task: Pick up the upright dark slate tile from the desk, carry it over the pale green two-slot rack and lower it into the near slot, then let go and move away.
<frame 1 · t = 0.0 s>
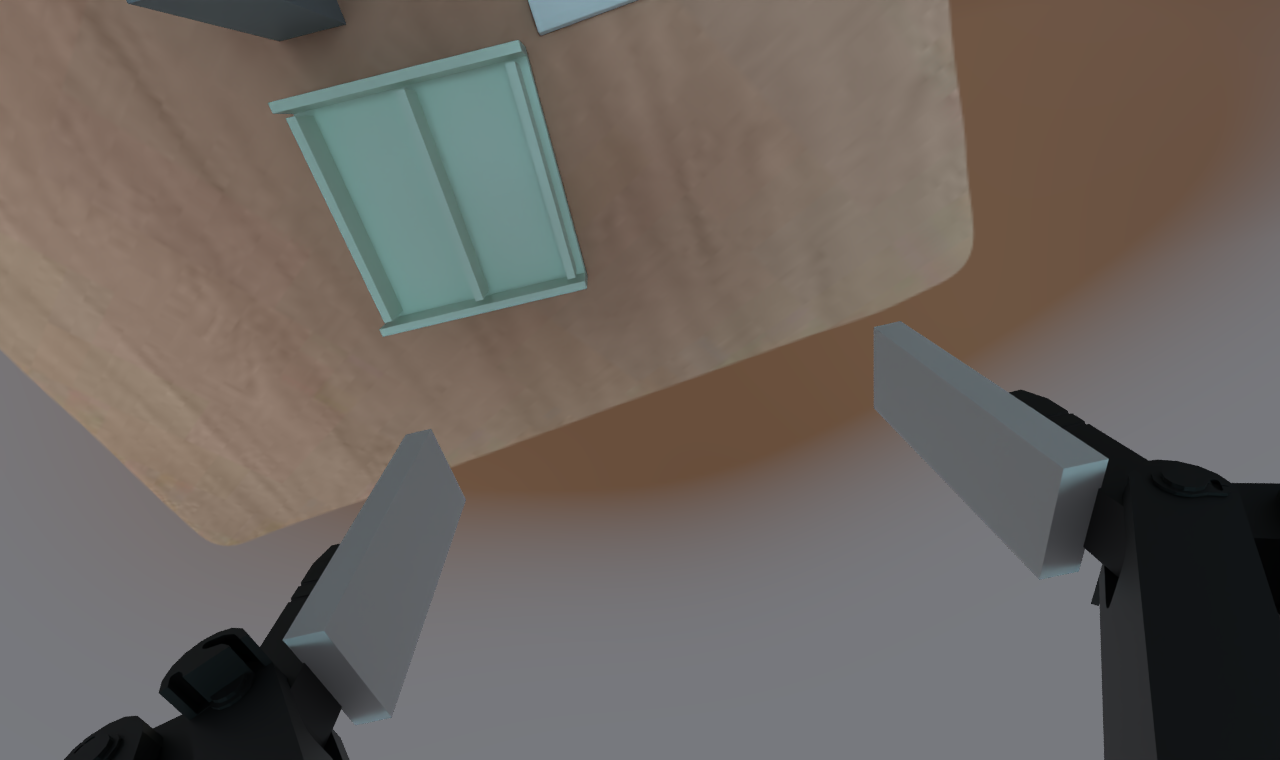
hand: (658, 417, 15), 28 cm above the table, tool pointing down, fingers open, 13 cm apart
rack: (455, 198, 38), on the table
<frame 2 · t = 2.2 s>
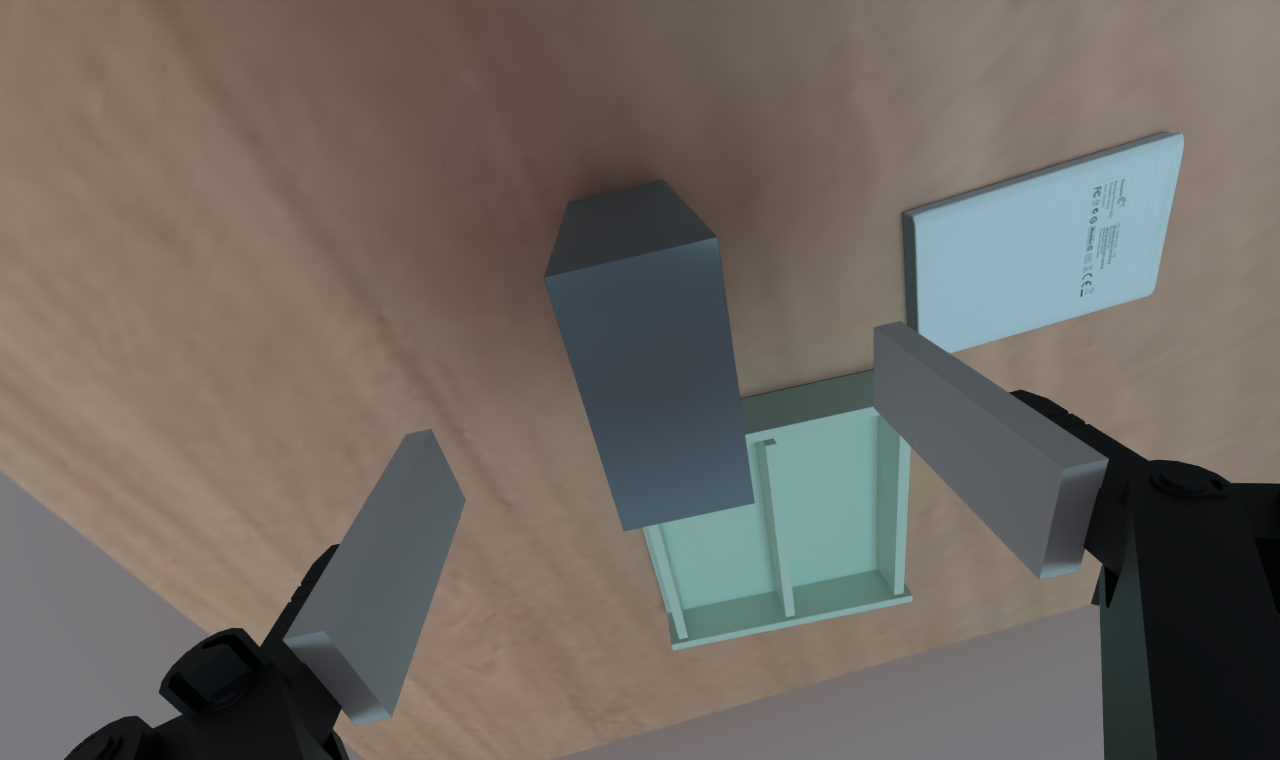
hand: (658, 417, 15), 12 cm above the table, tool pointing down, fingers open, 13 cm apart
rack: (765, 501, 33), on the table
tile: (636, 283, 26), on the table
external hard drive: (1016, 250, 27), on the table
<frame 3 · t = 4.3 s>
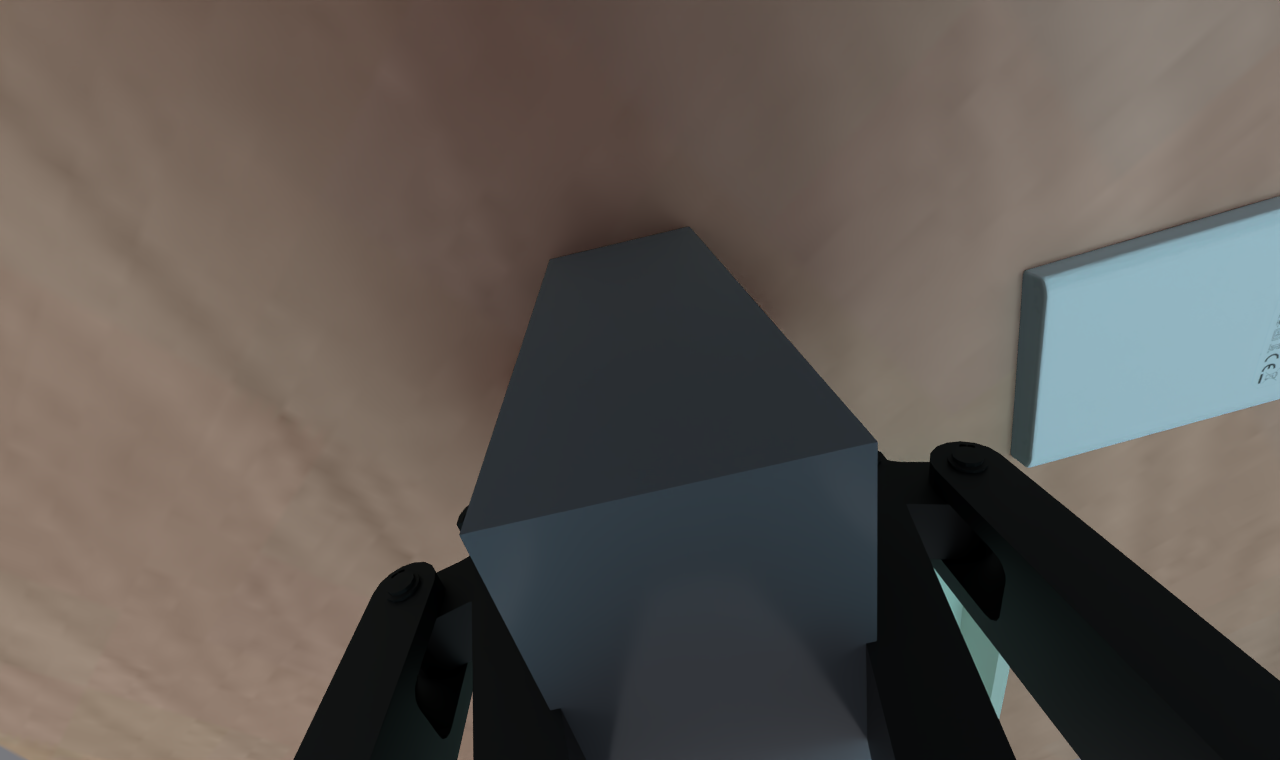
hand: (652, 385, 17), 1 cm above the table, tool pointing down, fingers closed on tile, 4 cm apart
rack: (812, 627, 25), on the table
tile: (648, 368, 18), on the table, touching gripper
external hard drive: (1165, 319, 20), on the table
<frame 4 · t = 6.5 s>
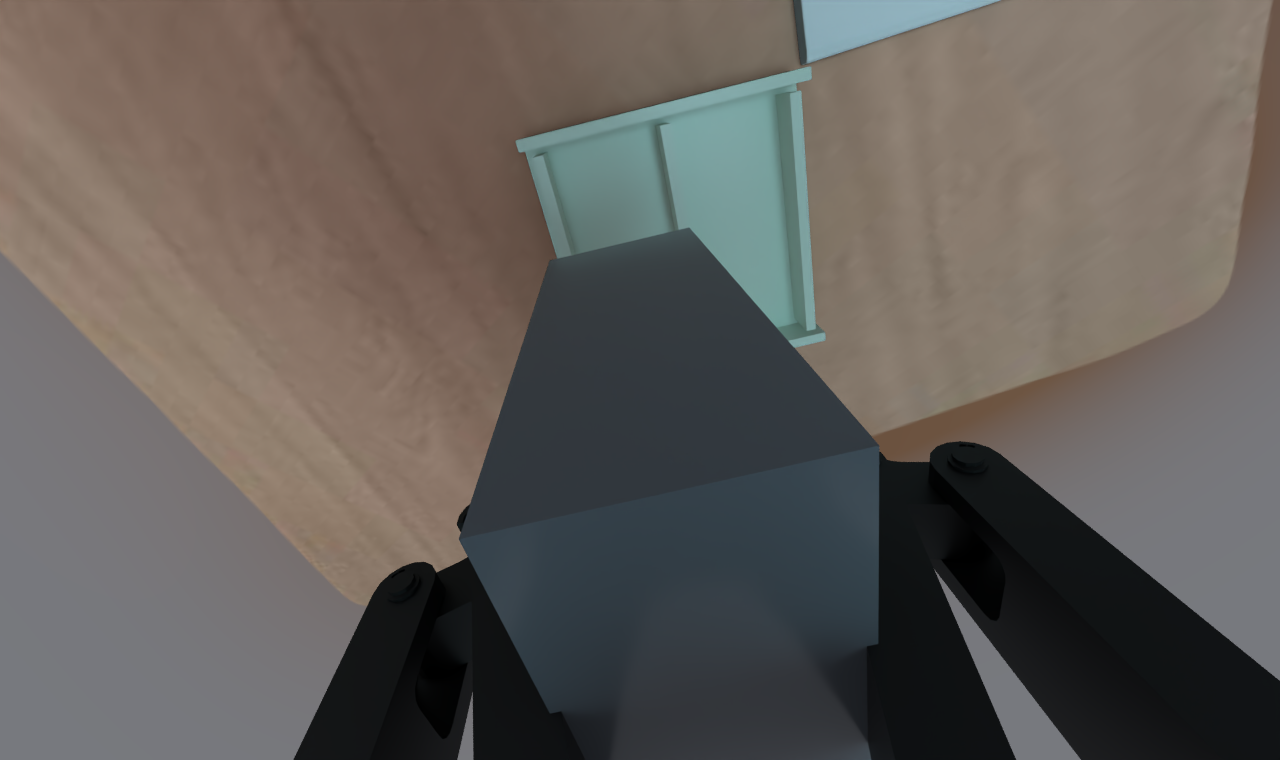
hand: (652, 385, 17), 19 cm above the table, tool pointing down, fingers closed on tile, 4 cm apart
rack: (679, 239, 34), on the table
tile: (648, 369, 18), point 18 cm above the table, touching gripper
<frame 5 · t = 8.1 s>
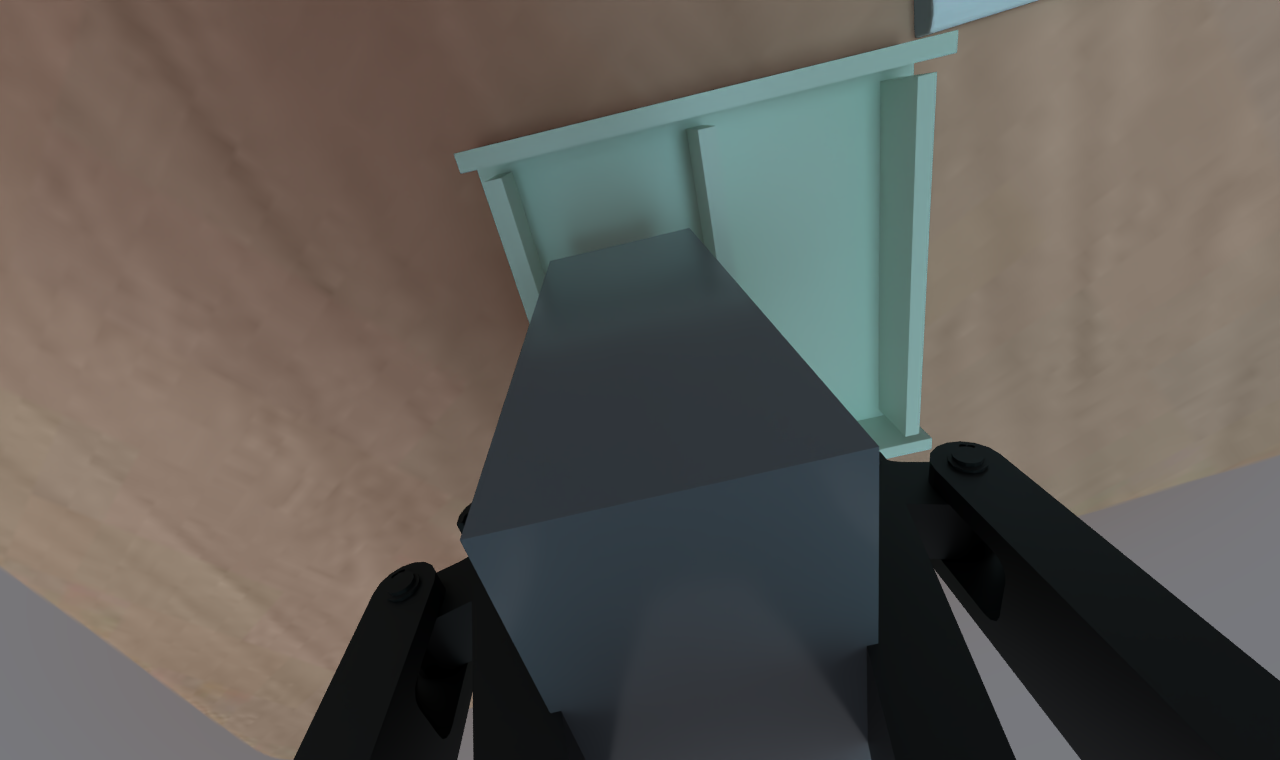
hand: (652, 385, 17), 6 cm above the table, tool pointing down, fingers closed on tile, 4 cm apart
rack: (716, 299, 22), on the table
tile: (648, 369, 18), point 5 cm above the table, touching gripper
when the fingers open (4 cm above the table, at t = 9.2 s): tile drops 2 cm, resting on rack.
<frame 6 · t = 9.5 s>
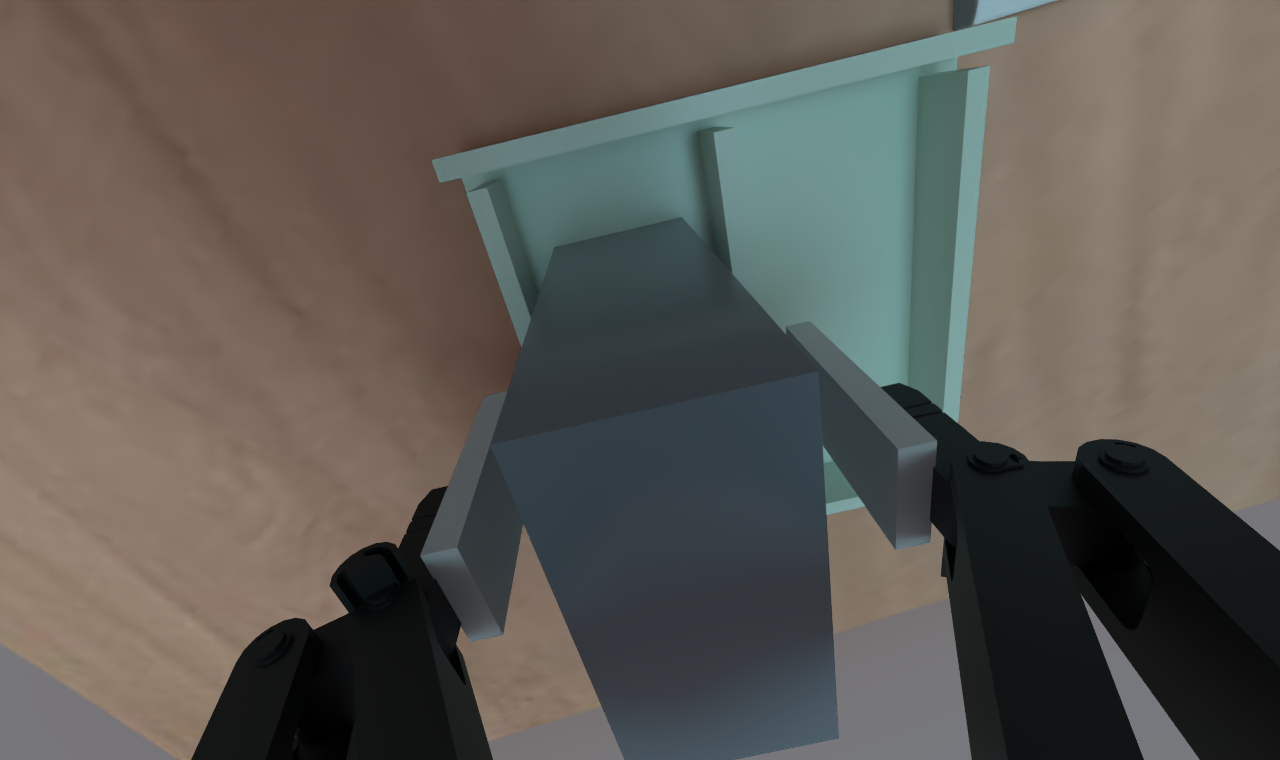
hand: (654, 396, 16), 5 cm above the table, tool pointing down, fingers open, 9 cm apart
rack: (728, 319, 20), on the table
tile: (644, 349, 20), point 1 cm above the table, touching rack
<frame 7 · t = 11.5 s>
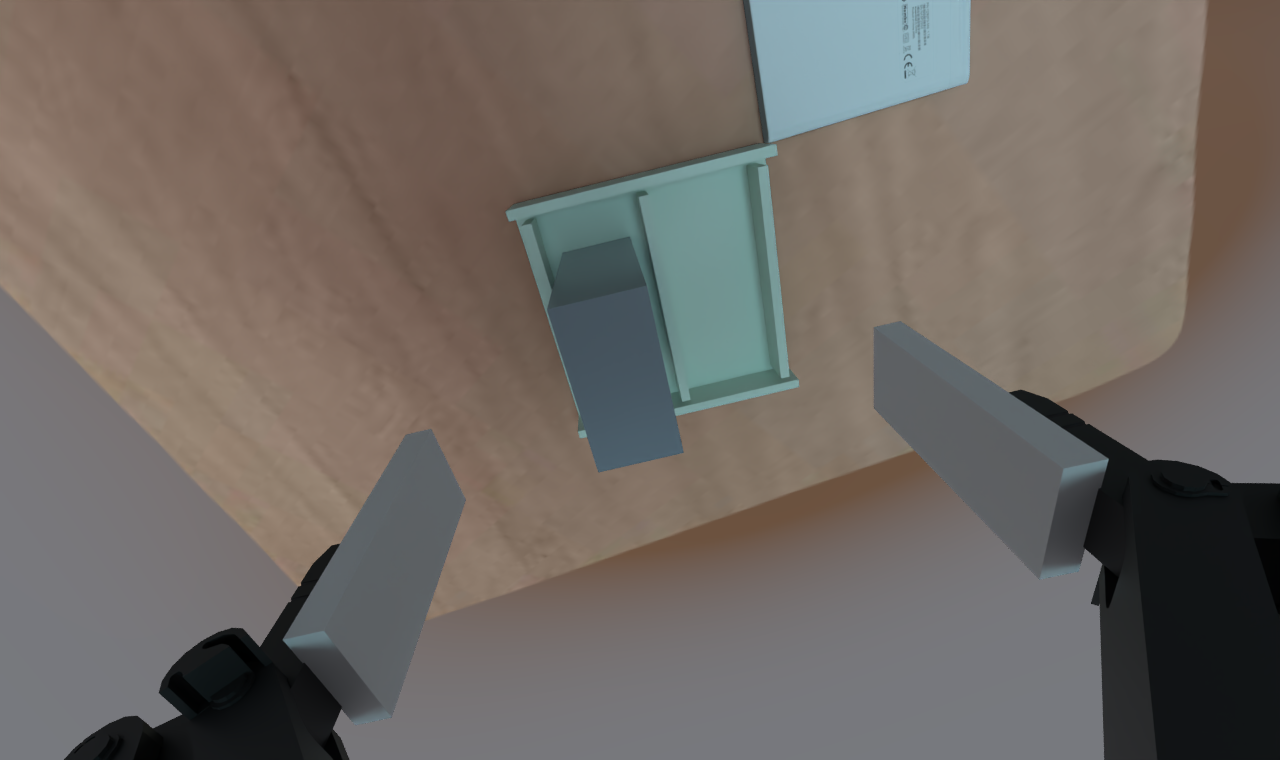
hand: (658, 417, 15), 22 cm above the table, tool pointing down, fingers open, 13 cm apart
rack: (660, 293, 36), on the table
tile: (612, 309, 35), point 1 cm above the table, touching rack
external hard drive: (850, 41, 31), on the table
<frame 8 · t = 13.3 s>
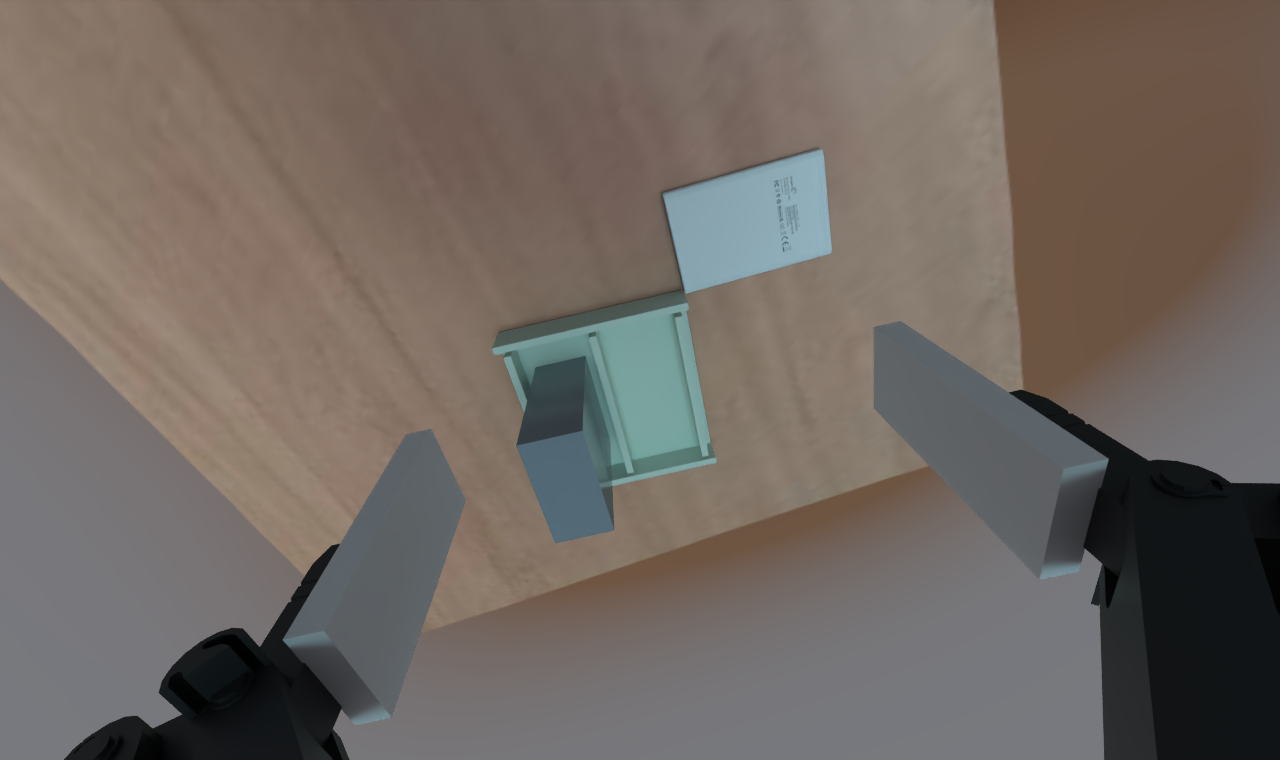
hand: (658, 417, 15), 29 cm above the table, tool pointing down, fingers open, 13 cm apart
rack: (611, 391, 47), on the table
tile: (574, 405, 46), point 1 cm above the table, touching rack
external hard drive: (745, 221, 42), on the table
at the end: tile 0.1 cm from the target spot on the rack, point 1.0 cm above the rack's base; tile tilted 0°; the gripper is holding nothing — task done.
